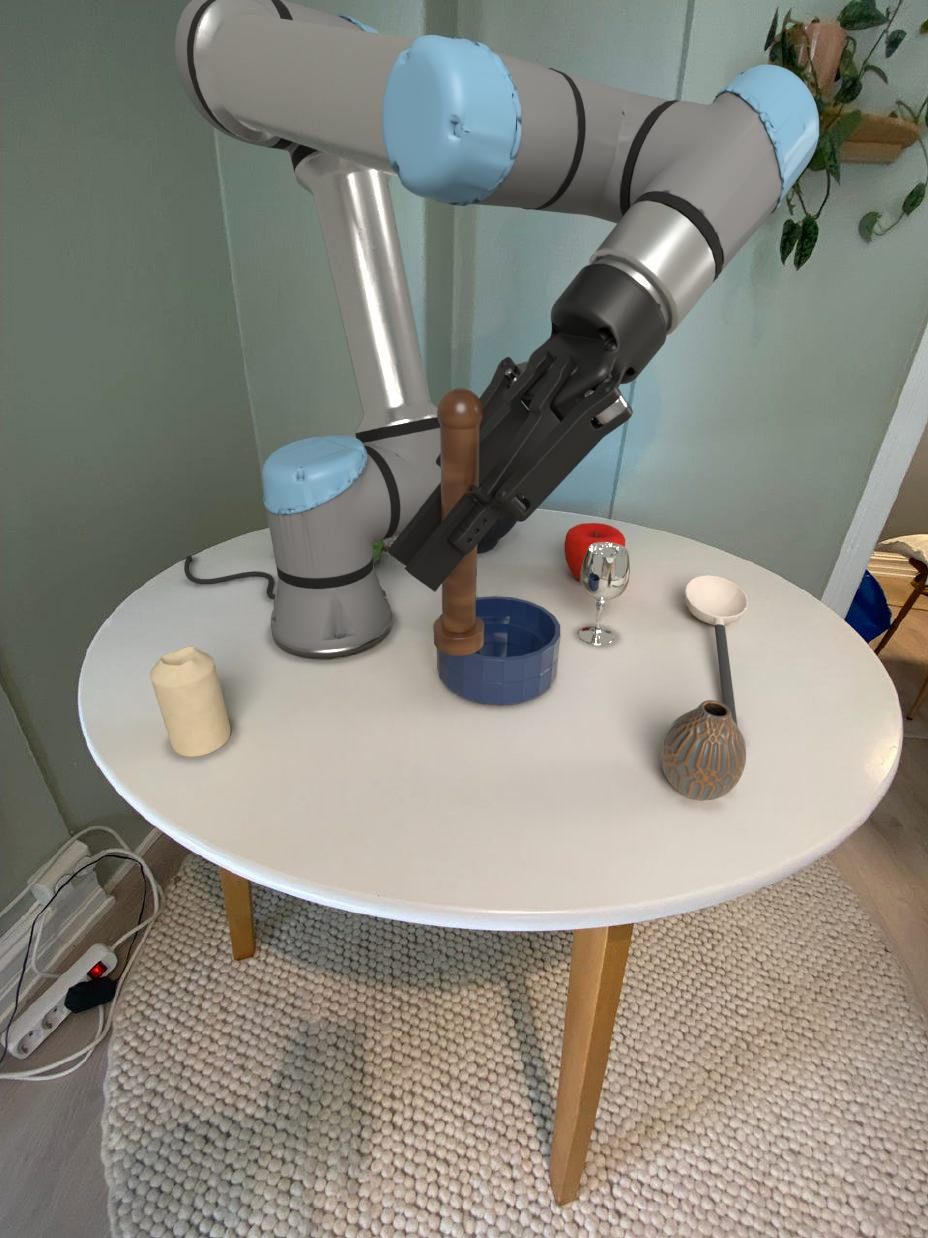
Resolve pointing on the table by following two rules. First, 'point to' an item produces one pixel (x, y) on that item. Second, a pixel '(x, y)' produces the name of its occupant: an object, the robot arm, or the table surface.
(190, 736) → the candle
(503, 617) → the blue bowl
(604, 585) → the wineglass
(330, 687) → the table surface
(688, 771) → the vase
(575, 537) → the apple
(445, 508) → the brown wooden post
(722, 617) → the ladle
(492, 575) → the table surface
